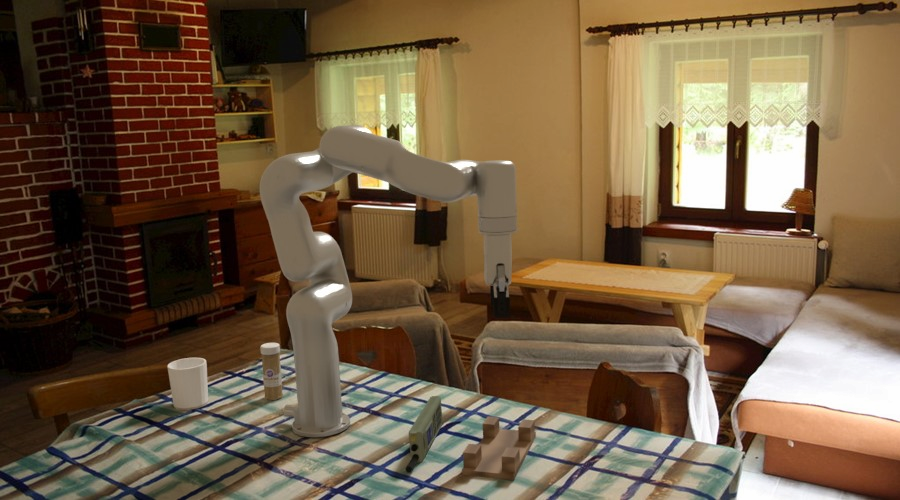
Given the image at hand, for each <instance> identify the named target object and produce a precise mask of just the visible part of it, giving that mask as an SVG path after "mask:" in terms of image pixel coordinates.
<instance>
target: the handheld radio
mask: <svg viewBox="0 0 900 500" xmlns="http://www.w3.org/2000/svg"><path fill="white" fill-rule="evenodd" d="M441 398H442V397H441V396H440V395H431V396H430V397H429V398H428V400H427V401H426V404H425V405H424V406H423V408H422V410H421V412H420V413H419V415H418V416H417V418H416V419H415V421H414V423H413V424H412V426H411V428H410V429H409V431H408V440H409V442H408V443H409V451H410V452H409V453H410V460H409V461H408V464H407V465H406V467H405V472H407V474H408V473H412V471H413V470H414V468H415V466H416V464H417V463H422V462H423V461H424V460H425V458H426V456H427V453H428V452H429V451H430V448H431V446H432V445H433V443H434V441H435V439H436V438H437V435H438V433H439V431H440V430H441V428H442V425H443V423H444V422H443V411H442V410H443V409H442V400H441Z"/></svg>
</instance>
